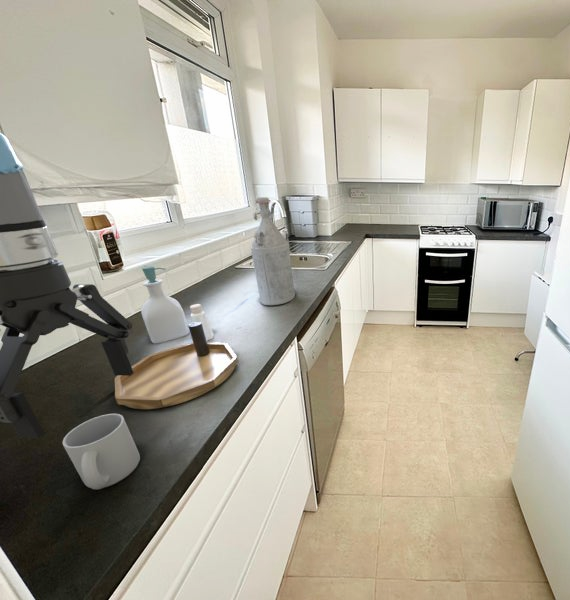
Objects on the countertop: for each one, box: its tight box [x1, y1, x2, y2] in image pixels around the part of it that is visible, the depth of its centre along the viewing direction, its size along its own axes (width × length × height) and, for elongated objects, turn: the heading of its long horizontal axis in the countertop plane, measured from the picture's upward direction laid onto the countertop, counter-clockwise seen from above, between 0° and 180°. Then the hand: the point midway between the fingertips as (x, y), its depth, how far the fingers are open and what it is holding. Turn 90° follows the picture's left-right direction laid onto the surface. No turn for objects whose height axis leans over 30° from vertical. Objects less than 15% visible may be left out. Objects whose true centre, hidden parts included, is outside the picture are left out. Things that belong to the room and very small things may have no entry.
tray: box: [114, 322, 239, 410], centre depth 75 cm, size 24×24×10 cm
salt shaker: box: [189, 303, 215, 342], centre depth 94 cm, size 5×5×11 cm
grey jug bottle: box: [249, 196, 296, 306], centre depth 119 cm, size 13×17×40 cm
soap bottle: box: [140, 265, 190, 344], centre depth 93 cm, size 10×10×23 cm
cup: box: [62, 413, 141, 490], centre depth 50 cm, size 7×10×9 cm
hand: (84, 400), depth 47 cm, fingers open, 13 cm apart
